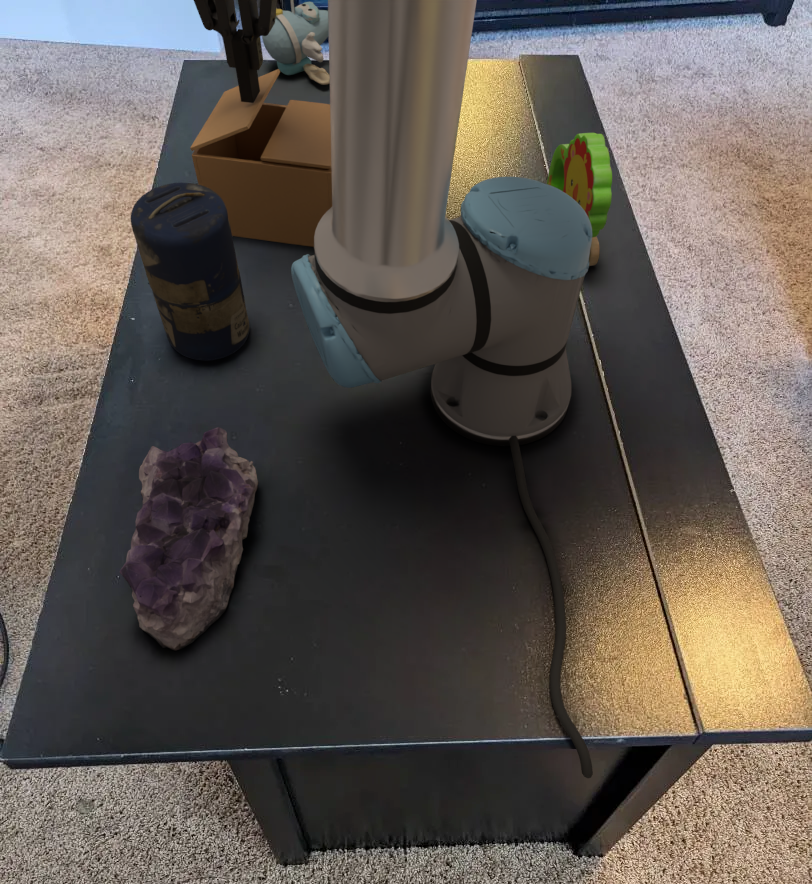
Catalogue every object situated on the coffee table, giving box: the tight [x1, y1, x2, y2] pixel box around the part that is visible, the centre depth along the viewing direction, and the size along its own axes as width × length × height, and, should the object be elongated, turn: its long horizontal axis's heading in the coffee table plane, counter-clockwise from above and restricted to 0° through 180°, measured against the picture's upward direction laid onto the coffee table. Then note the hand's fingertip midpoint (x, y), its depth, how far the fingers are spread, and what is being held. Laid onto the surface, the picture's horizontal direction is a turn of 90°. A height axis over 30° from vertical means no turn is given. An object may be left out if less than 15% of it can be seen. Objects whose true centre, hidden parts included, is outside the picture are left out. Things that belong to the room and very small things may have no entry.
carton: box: [191, 99, 332, 248], centre depth 97 cm, size 13×17×11 cm
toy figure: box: [261, 0, 330, 86], centre depth 118 cm, size 17×10×15 cm
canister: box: [130, 181, 251, 361], centre depth 81 cm, size 10×10×18 cm
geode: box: [119, 426, 259, 652], centre depth 69 cm, size 20×12×10 cm, turn 179°
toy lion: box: [546, 132, 613, 267], centre depth 92 cm, size 16×5×15 cm, turn 9°
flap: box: [189, 68, 281, 152], centre depth 91 cm, size 13×8×1 cm, turn 169°
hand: (250, 96), depth 89 cm, fingers closed
